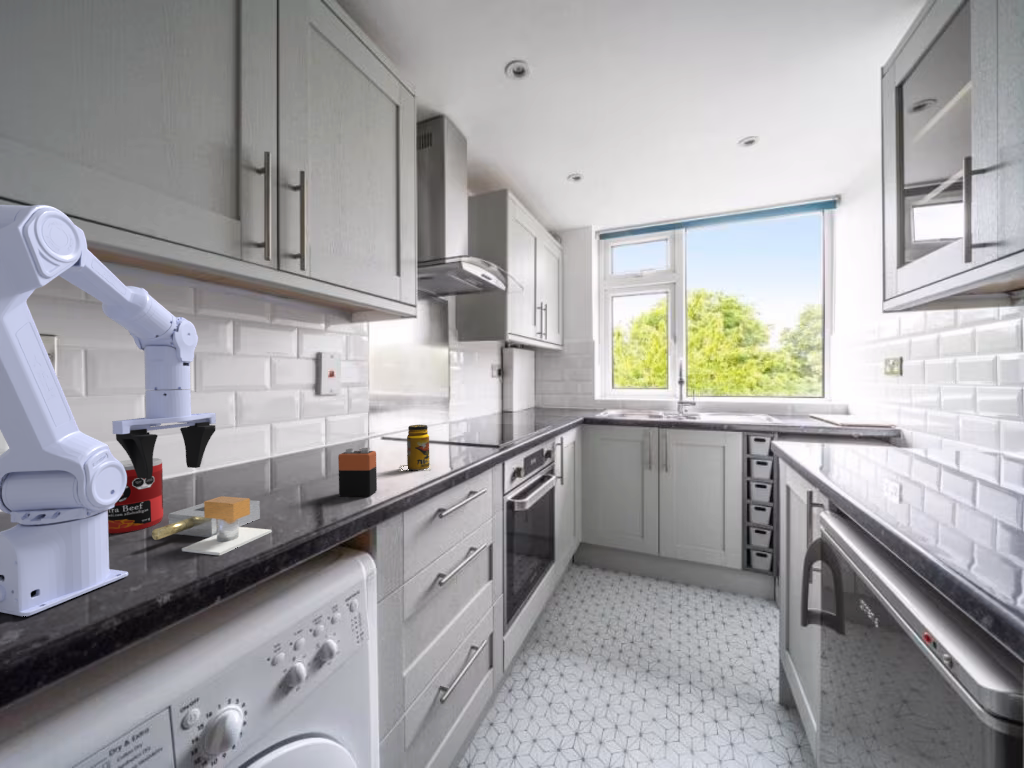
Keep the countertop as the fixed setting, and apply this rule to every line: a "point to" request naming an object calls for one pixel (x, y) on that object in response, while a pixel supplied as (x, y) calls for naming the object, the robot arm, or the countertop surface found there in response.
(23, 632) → the countertop surface
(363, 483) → the battery
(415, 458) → the condiment
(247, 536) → the mat
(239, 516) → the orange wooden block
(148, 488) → the canned food
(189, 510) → the hollow block with rod
